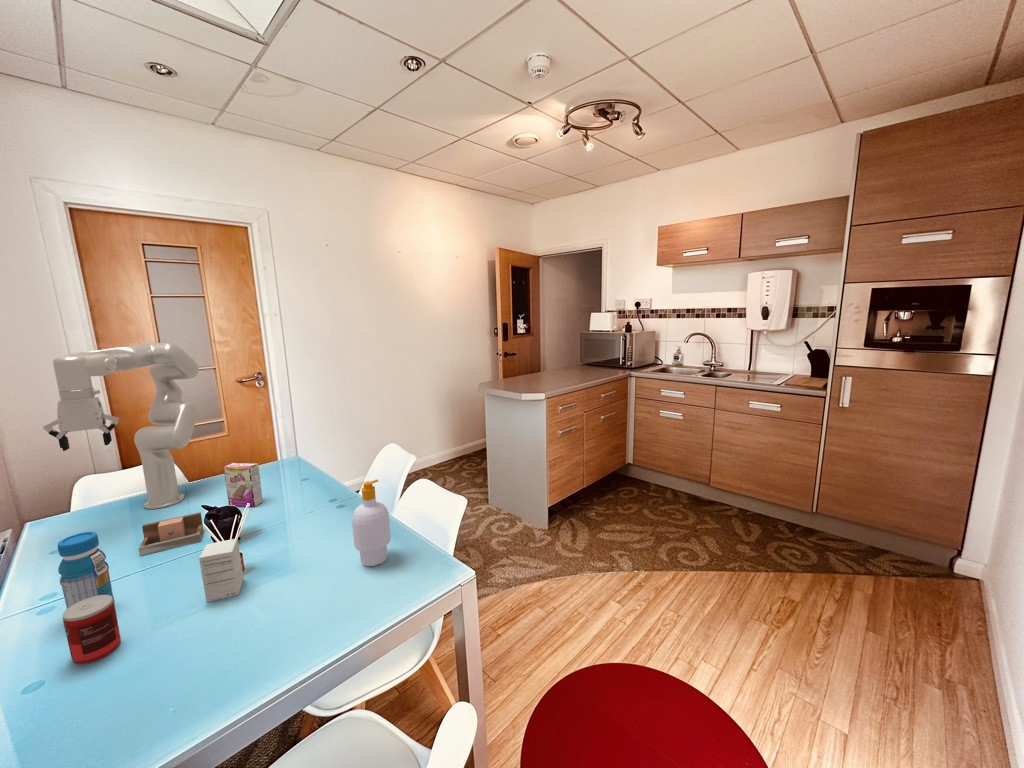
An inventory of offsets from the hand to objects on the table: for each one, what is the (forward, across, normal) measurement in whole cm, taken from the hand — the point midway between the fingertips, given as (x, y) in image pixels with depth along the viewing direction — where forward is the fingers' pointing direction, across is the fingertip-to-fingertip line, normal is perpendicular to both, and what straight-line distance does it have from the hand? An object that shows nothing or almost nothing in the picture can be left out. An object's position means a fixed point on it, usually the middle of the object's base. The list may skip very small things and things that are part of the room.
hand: (87, 447), depth 134 cm
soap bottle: (+32, -73, +64) cm, 102 cm away
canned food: (+32, -13, +65) cm, 74 cm away
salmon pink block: (+32, -20, +15) cm, 41 cm away
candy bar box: (+32, -40, -4) cm, 52 cm away
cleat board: (+32, -20, +16) cm, 41 cm away
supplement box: (+33, -36, +56) cm, 74 cm away
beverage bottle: (+32, -8, +47) cm, 58 cm away
